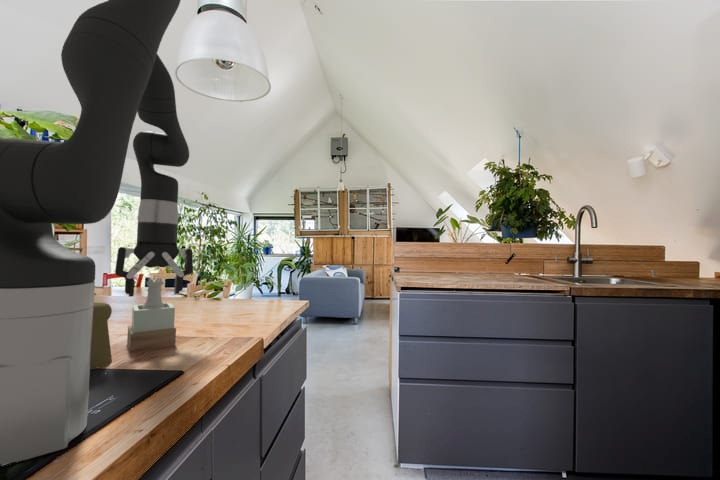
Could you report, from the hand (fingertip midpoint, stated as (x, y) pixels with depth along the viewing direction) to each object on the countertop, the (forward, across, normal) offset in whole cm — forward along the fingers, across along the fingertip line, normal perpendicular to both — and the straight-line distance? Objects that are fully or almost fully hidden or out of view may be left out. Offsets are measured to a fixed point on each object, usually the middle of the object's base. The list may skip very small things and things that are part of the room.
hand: (154, 294), depth 69 cm
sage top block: (+7, 0, 0) cm, 7 cm away
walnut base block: (+11, 0, 0) cm, 11 cm away
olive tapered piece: (+11, -10, -8) cm, 17 cm away
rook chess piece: (+5, 0, 0) cm, 5 cm away
